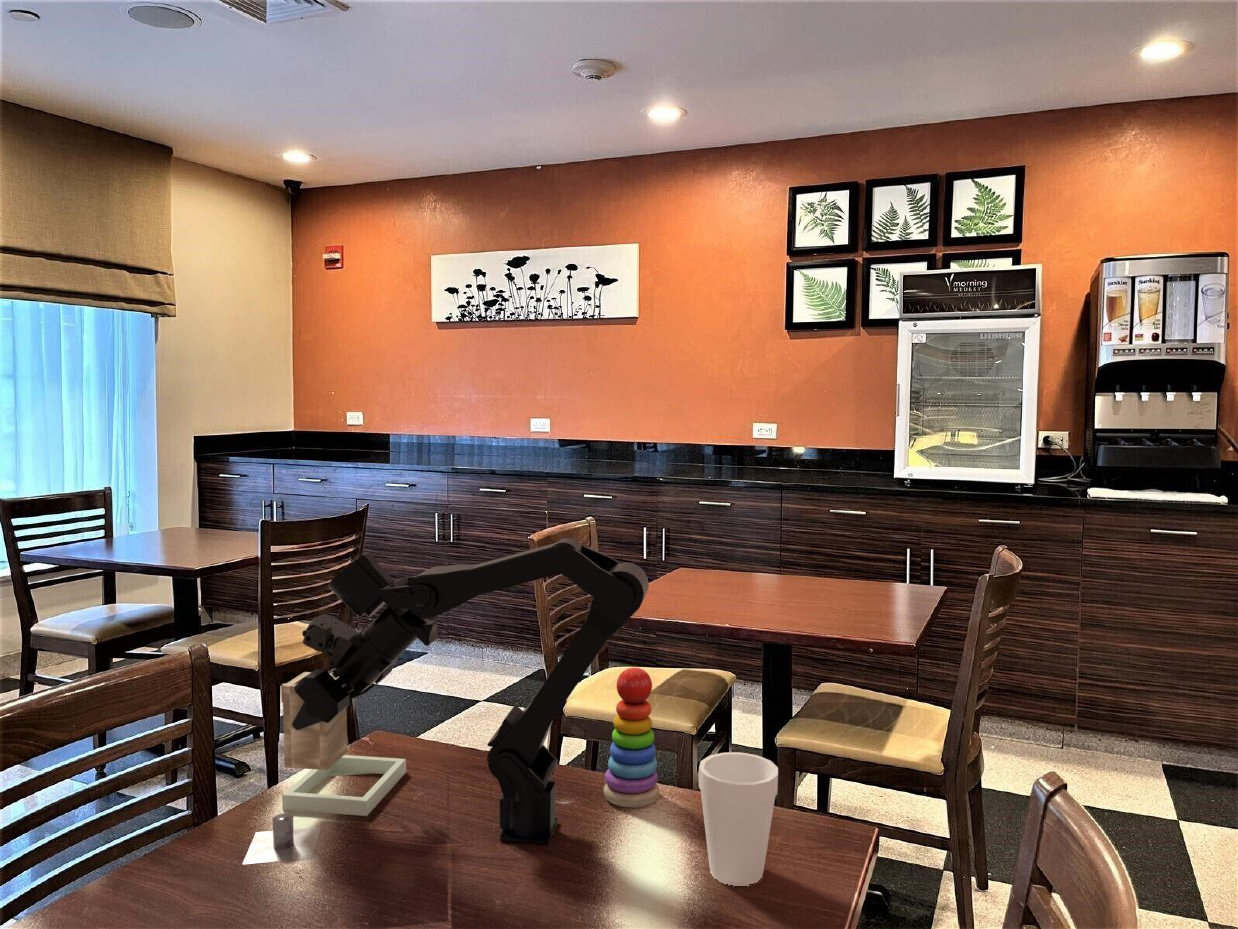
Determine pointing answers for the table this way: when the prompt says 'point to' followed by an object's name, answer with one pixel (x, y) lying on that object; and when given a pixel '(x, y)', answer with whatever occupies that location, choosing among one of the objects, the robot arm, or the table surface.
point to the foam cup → (737, 814)
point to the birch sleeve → (311, 734)
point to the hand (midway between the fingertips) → (306, 718)
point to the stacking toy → (632, 745)
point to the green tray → (346, 765)
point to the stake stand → (282, 842)
